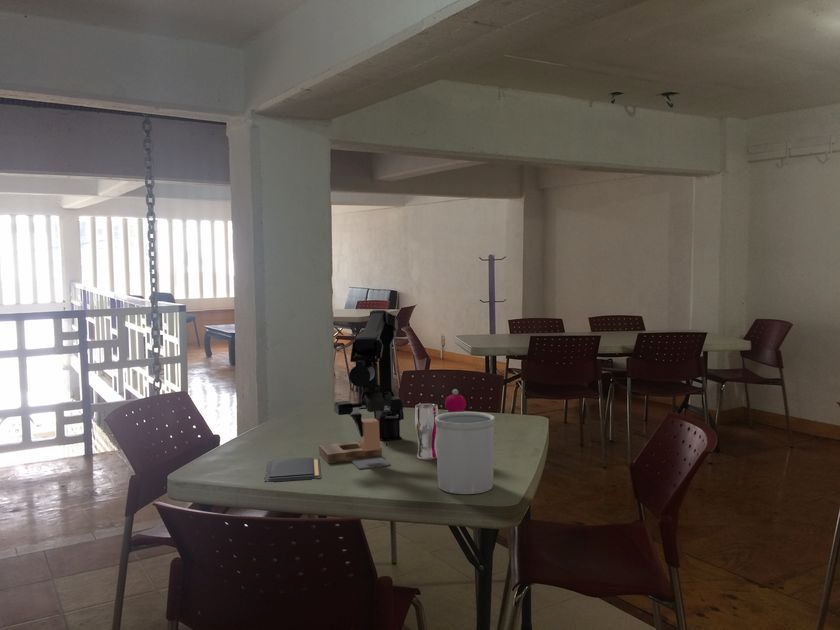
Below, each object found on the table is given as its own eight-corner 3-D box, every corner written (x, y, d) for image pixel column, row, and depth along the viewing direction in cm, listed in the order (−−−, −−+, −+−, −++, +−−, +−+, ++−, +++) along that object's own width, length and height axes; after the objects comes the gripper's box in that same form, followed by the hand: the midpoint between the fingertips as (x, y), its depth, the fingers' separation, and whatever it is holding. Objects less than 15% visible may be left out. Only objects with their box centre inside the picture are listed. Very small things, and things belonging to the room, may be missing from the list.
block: (375, 445, 198) (374, 418, 198) (379, 449, 194) (379, 421, 194) (360, 447, 197) (359, 419, 196) (364, 451, 193) (363, 422, 192)
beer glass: (442, 454, 203) (441, 403, 202) (435, 461, 197) (434, 408, 196) (419, 453, 206) (418, 402, 205) (411, 459, 199) (410, 407, 198)
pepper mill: (451, 463, 194) (450, 392, 193) (439, 457, 201) (437, 388, 199) (473, 459, 197) (472, 389, 196) (460, 453, 204) (459, 386, 202)
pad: (380, 457, 201) (380, 456, 201) (390, 465, 193) (390, 464, 193) (350, 461, 198) (350, 459, 198) (359, 469, 190) (359, 468, 190)
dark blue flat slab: (268, 457, 199) (321, 454, 201) (268, 464, 199) (321, 461, 201) (261, 478, 180) (321, 474, 182) (262, 485, 180) (321, 482, 182)
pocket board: (371, 448, 212) (370, 439, 212) (381, 457, 202) (381, 448, 202) (319, 454, 207) (319, 445, 207) (327, 463, 196) (327, 454, 196)
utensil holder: (444, 475, 183) (443, 409, 182) (500, 479, 179) (499, 411, 177) (428, 493, 169) (427, 421, 168) (489, 497, 165) (488, 424, 163)
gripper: (342, 387, 183) (344, 446, 184) (409, 382, 190) (410, 438, 191) (332, 381, 194) (334, 436, 195) (396, 376, 200) (397, 430, 201)
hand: (369, 435), depth 195 cm, fingers closed on block, 4 cm apart
